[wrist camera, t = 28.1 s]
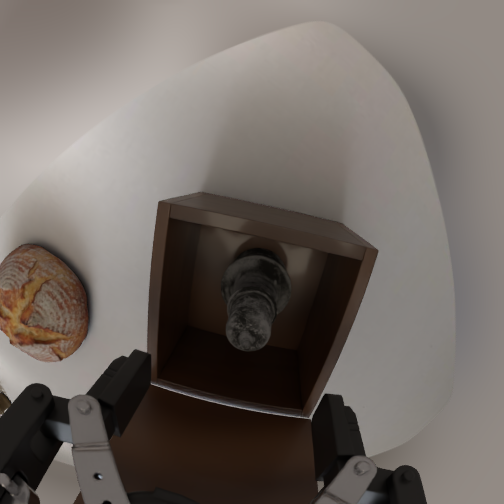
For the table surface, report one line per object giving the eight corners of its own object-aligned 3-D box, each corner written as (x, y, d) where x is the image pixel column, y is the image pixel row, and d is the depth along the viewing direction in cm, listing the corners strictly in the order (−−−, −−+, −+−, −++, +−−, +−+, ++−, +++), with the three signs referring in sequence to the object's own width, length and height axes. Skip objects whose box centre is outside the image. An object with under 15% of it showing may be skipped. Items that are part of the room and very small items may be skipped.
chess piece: (230, 303, 27) (201, 383, 16) (225, 245, 26) (186, 300, 14) (290, 302, 27) (296, 385, 15) (289, 243, 25) (299, 298, 14)
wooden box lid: (55, 535, 4) (81, 551, 6) (323, 594, 4) (290, 597, 5) (145, 382, 20) (146, 420, 21) (311, 418, 19) (292, 452, 21)
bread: (119, 330, 32) (82, 380, 22) (46, 351, 35) (15, 385, 26) (59, 216, 28) (2, 239, 18) (-1, 267, 31) (-41, 291, 21)
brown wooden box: (200, 191, 26) (158, 200, 16) (342, 223, 25) (379, 250, 16) (181, 326, 30) (147, 382, 20) (302, 353, 29) (309, 418, 20)
